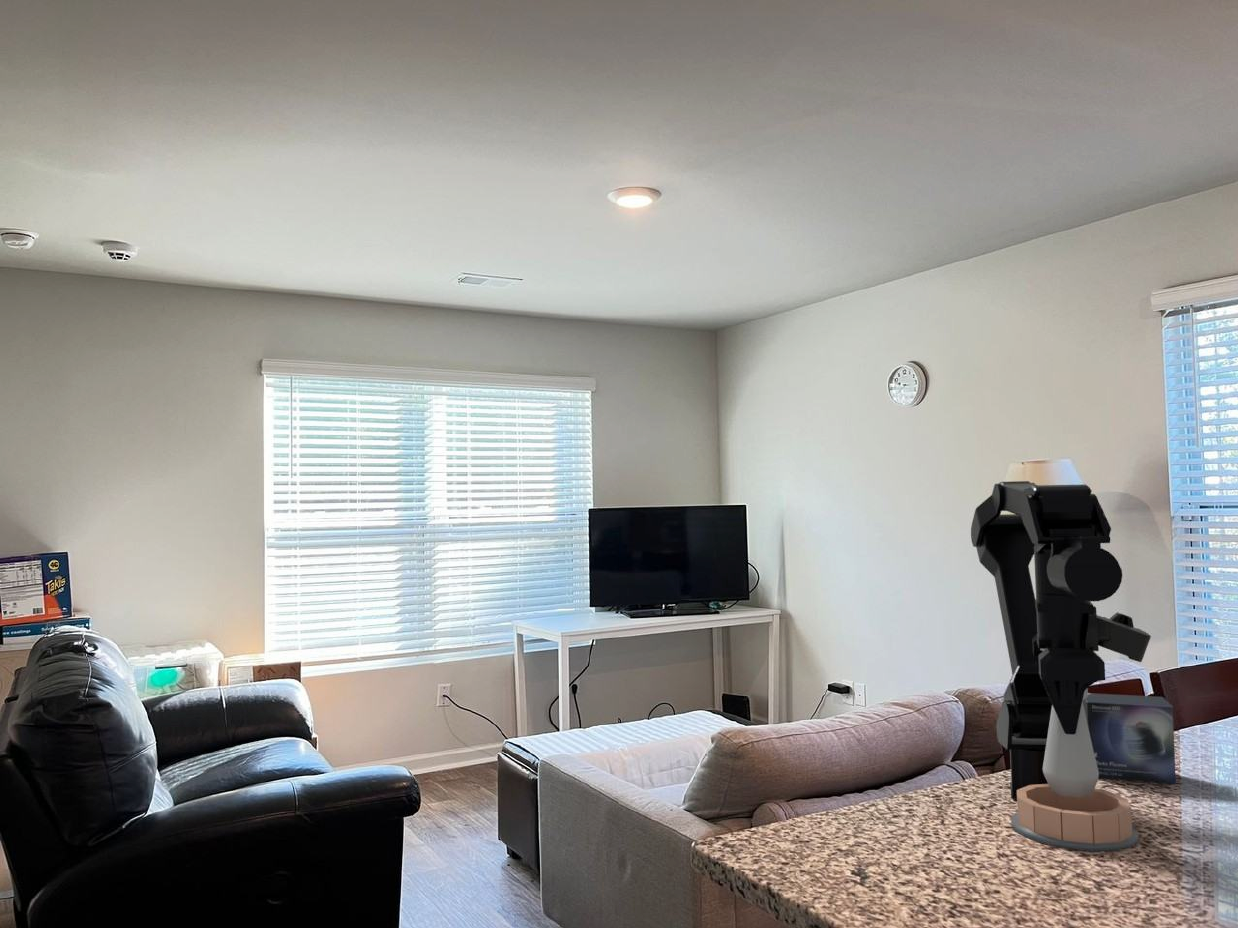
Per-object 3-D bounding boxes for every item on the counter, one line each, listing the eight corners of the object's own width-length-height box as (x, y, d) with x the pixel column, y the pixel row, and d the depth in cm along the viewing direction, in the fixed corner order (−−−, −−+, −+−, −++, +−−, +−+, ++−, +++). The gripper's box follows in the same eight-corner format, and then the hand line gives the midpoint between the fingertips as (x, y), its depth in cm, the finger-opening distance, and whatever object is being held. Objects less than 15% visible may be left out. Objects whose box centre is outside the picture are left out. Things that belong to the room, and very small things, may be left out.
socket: (1013, 842, 101) (1011, 809, 101) (1010, 807, 113) (1008, 777, 113) (1148, 857, 96) (1146, 822, 96) (1129, 818, 108) (1128, 787, 108)
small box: (1089, 778, 125) (1085, 700, 125) (1082, 766, 131) (1079, 691, 131) (1178, 785, 121) (1174, 704, 122) (1167, 772, 127) (1163, 695, 128)
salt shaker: (1035, 784, 108) (1030, 672, 108) (1084, 784, 107) (1079, 672, 108) (1057, 800, 102) (1052, 681, 102) (1109, 799, 102) (1104, 681, 102)
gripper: (1156, 602, 94) (1164, 756, 93) (1129, 587, 111) (1136, 717, 111) (1037, 600, 98) (1043, 747, 97) (1029, 586, 116) (1034, 711, 115)
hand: (1068, 729), depth 105 cm, fingers closed on salt shaker, 4 cm apart
